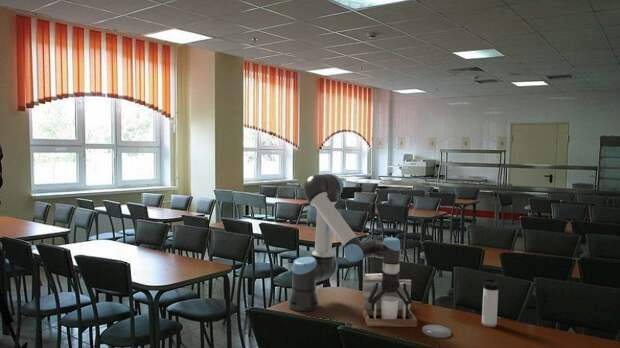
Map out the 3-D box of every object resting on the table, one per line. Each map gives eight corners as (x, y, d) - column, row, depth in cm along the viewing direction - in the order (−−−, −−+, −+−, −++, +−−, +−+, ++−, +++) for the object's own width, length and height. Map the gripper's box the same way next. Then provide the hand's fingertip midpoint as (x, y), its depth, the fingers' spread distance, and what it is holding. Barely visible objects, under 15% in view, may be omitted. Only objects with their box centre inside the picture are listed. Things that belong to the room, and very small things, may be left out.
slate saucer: (419, 326, 206) (419, 324, 206) (445, 327, 207) (446, 324, 207) (426, 337, 195) (426, 335, 194) (455, 338, 195) (455, 336, 195)
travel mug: (496, 322, 213) (498, 279, 212) (496, 328, 207) (499, 283, 206) (481, 320, 215) (483, 278, 214) (481, 325, 209) (484, 282, 208)
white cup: (397, 324, 209) (398, 302, 208) (379, 322, 210) (380, 301, 209) (397, 318, 216) (398, 297, 216) (380, 316, 218) (381, 295, 217)
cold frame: (362, 313, 221) (363, 278, 220) (408, 314, 221) (410, 279, 220) (367, 325, 206) (368, 288, 205) (416, 326, 206) (418, 289, 205)
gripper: (364, 273, 208) (363, 320, 209) (420, 274, 208) (418, 321, 210) (362, 269, 215) (361, 314, 216) (415, 270, 216) (414, 315, 217)
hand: (389, 317), depth 213 cm, fingers open, 13 cm apart
